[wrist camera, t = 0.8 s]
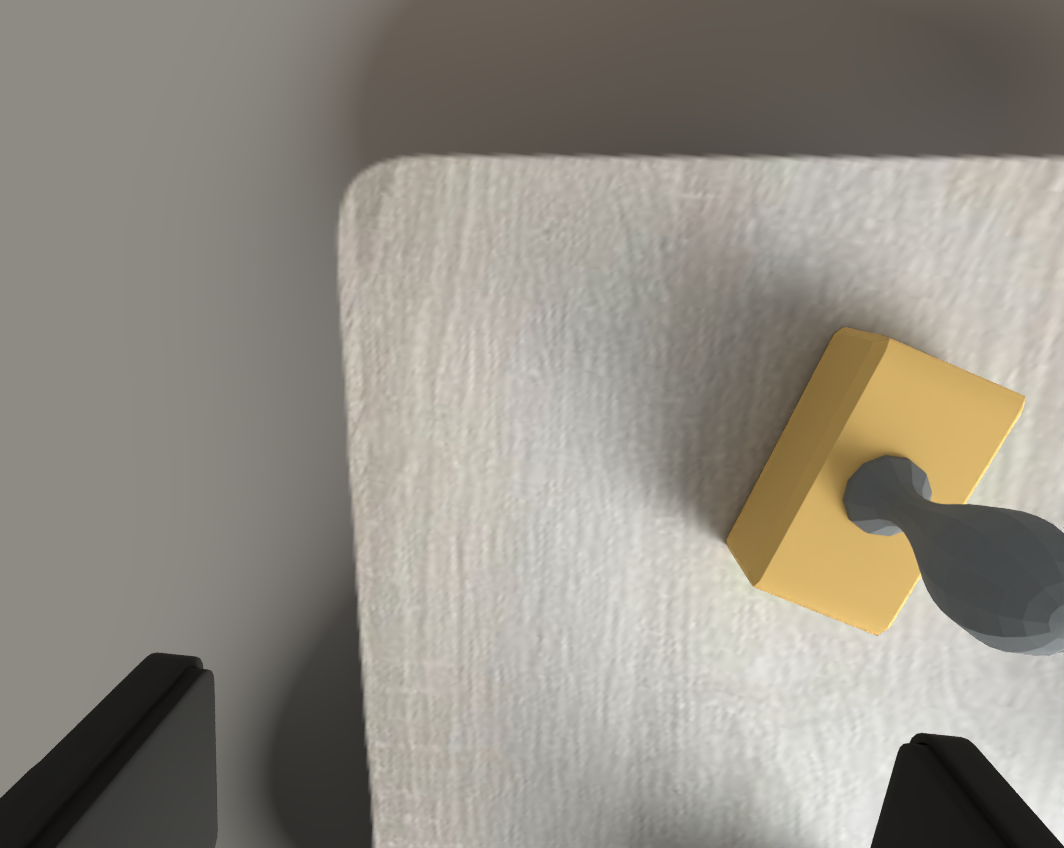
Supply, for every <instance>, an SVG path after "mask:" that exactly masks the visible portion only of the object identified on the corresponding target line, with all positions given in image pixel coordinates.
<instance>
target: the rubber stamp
mask: <svg viewBox="0 0 1064 848" xmlns="http://www.w3.org/2000/svg"><path fill="white" fill-rule="evenodd" d="M1024 402H1025V396H1024V395H1021V394H1019V393H1017V392H1014V391H1012V390H1010V389H1007V388H1005V387H1003V386H1000V385H998V384H996V383H993V382H991V381H989V380H986V379H984V378H982V377H979V376H977V375H975V374H972V373H970V372H968V371H965V370H963V369H961V368H959V367H956V366H954V365H952V364H949V363H947V362H945V361H942V360H940V359H938V358H935V357H933V356H931V355H928V354H926V353H924V352H921V351H919V350H917V349H914V348H912V347H910V346H907V345H905V344H903V343H900V342H898V341H896V340H893V339H891V338H889V337H886V336H884V335H880V334H875V333H870V332H865V331H861V330H856V329H851V328H846V327H843V328H842V329H840V330H838V331H837V332H835V333H834V335H833V337H832V339H831V341H830V343H829V345H828V346H827V348H826V350H825V352H824V354H823V356H822V358H821V360H820V362H819V364H818V366H817V367H816V369H815V371H814V373H813V375H812V377H811V379H810V381H809V383H808V385H807V387H806V389H805V390H804V392H803V394H802V396H801V398H800V400H799V402H798V404H797V406H796V408H795V410H794V411H793V413H792V415H791V417H790V419H789V421H788V423H787V425H786V427H785V429H784V431H783V433H782V434H781V436H780V438H779V440H778V442H777V444H776V446H775V448H774V450H773V452H772V454H771V455H770V457H769V459H768V461H767V463H766V465H765V467H764V469H763V471H762V473H761V475H760V476H759V478H758V480H757V482H756V484H755V486H754V488H753V490H752V492H751V494H750V496H749V498H748V499H747V501H746V503H745V505H744V507H743V509H742V511H741V513H740V515H739V517H738V519H737V520H736V522H735V524H734V526H733V528H732V530H731V532H730V534H729V536H728V538H727V540H726V542H727V546H728V548H729V550H730V551H731V553H732V555H733V556H734V558H735V559H736V561H737V563H738V564H739V566H740V567H741V569H742V570H743V572H744V574H745V575H746V577H747V578H748V580H749V581H750V583H751V584H752V586H753V587H755V588H757V589H760V590H762V591H765V592H767V593H770V594H772V595H775V596H778V597H780V598H783V599H785V600H788V601H790V602H793V603H795V604H798V605H800V606H803V607H805V608H808V609H811V610H813V611H816V612H818V613H821V614H823V615H826V616H828V617H831V618H833V619H836V620H838V621H841V622H843V623H846V624H849V625H851V626H854V627H856V628H859V629H861V630H864V631H866V632H869V633H871V634H874V635H876V636H878V635H879V634H881V633H882V632H884V631H885V630H887V629H888V628H889V627H890V626H891V625H892V623H893V621H894V620H895V618H896V616H897V615H898V613H899V612H900V610H901V608H902V607H903V605H904V603H905V602H906V600H907V599H908V597H909V595H910V594H911V592H912V590H913V589H914V587H915V586H916V584H917V582H918V581H919V579H920V577H921V576H922V579H923V581H924V583H925V586H926V588H927V590H928V592H929V594H930V596H931V597H932V599H933V601H934V602H935V603H936V604H937V606H938V607H939V608H940V609H941V611H943V612H944V613H945V614H946V615H947V616H948V617H949V618H950V619H952V620H953V621H954V622H955V623H957V624H958V625H959V626H961V627H962V628H963V629H964V630H966V631H967V632H968V633H970V634H971V635H972V636H974V637H975V638H976V639H978V640H979V641H981V642H983V643H984V644H986V645H988V646H990V647H992V648H995V649H999V650H1002V651H1005V652H1012V653H1020V654H1028V655H1036V656H1050V655H1053V654H1056V653H1059V652H1062V651H1064V533H1063V532H1062V531H1061V530H1059V529H1058V528H1057V527H1056V526H1054V525H1053V524H1052V523H1050V522H1048V521H1046V520H1044V519H1042V518H1040V517H1038V516H1035V515H1032V514H1029V513H1026V512H1022V511H1017V510H1011V509H1005V508H997V507H989V506H981V505H971V504H966V502H967V501H968V499H969V498H970V496H971V494H972V493H973V491H974V489H975V488H976V486H977V485H978V483H979V481H980V480H981V478H982V476H983V475H984V473H985V471H986V470H987V468H988V467H989V465H990V463H991V462H992V460H993V458H994V457H995V455H996V454H997V452H998V450H999V449H1000V447H1001V445H1002V444H1003V442H1004V441H1005V439H1006V437H1007V436H1008V434H1009V432H1010V431H1011V429H1012V427H1013V426H1014V424H1015V423H1016V421H1017V419H1018V418H1019V416H1020V414H1021V413H1022V410H1023V407H1024Z"/></svg>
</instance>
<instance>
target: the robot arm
mask: <svg viewBox="0 0 1064 848" xmlns="http://www.w3.org/2000/svg"><path fill="white" fill-rule="evenodd" d="M214 694H215V693H214V675H213V673H212V671H210V670H206V669H203V663H202V661H201V659H200V658H198V657H194V656H185V655H175V654H166V653H153V654H150V655H149V656H147V657H146V658H145V659H144V660H143V661H142V662H141V663H140V664H139V665H138V666H137V667H136V668H135V669H134V670H133V671H132V672H131V673H130V674H129V675H128V676H127V677H125V679H123V680H122V681H121V682H120V683H119V684H118V685H117V686H116V687H115V688H114V689H113V690H112V691H111V692H110V693H109V694H108V695H107V696H106V697H105V698H104V699H103V700H102V701H101V702H100V703H99V704H98V705H97V706H96V707H95V708H94V709H93V710H92V711H91V712H90V713H89V714H88V715H87V716H86V717H85V718H84V719H83V720H82V721H81V722H80V723H79V724H78V725H77V726H76V727H75V728H74V729H73V730H72V731H71V732H70V733H68V734H67V736H66V737H64V738H63V739H62V740H61V741H60V742H59V743H58V744H57V745H56V746H55V747H54V748H53V749H52V750H51V751H50V752H49V753H48V754H47V755H46V756H45V757H44V758H43V759H42V760H41V761H40V762H39V763H38V764H36V765H35V766H34V767H33V768H31V769H30V770H29V771H28V772H27V773H26V774H25V775H24V776H23V777H22V778H21V779H20V780H19V781H18V782H17V783H16V784H15V785H14V786H13V787H12V788H11V789H9V790H8V791H7V792H6V794H4V795H3V796H2V797H1V798H0V848H215V844H216V839H217V832H218V828H217V827H218V826H217V783H216V738H215V695H214ZM871 848H1064V846H1063V845H1062V844H1061V843H1060V841H1059V840H1058V839H1057V838H1056V837H1055V836H1054V835H1053V834H1052V832H1051V831H1050V830H1049V829H1048V828H1047V827H1046V826H1045V824H1044V823H1043V822H1042V821H1041V820H1040V819H1039V818H1038V816H1037V815H1036V814H1035V813H1034V812H1033V811H1032V810H1031V808H1030V807H1029V806H1028V805H1027V804H1026V803H1025V802H1024V801H1023V799H1022V798H1021V797H1020V796H1019V795H1018V794H1017V793H1016V791H1015V790H1014V789H1013V788H1012V787H1011V786H1010V785H1009V783H1008V782H1007V781H1006V780H1005V779H1004V778H1003V777H1002V776H1001V774H1000V773H999V772H998V771H997V770H996V769H995V768H994V766H993V765H992V764H991V763H990V762H989V761H988V760H987V758H986V757H985V756H984V755H983V754H982V753H981V752H980V751H979V749H978V748H977V747H976V746H975V745H974V744H973V743H972V742H970V741H969V740H968V739H965V738H962V737H955V736H946V735H936V734H927V733H919V734H916V735H915V736H914V737H913V738H912V739H911V741H910V743H906V744H903V745H902V746H901V747H900V749H899V751H898V754H897V757H896V760H895V764H894V767H893V771H892V774H891V778H890V781H889V785H888V788H887V792H886V795H885V799H884V802H883V806H882V809H881V813H880V816H879V820H878V823H877V827H876V830H875V834H874V837H873V841H872V844H871Z"/></svg>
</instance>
